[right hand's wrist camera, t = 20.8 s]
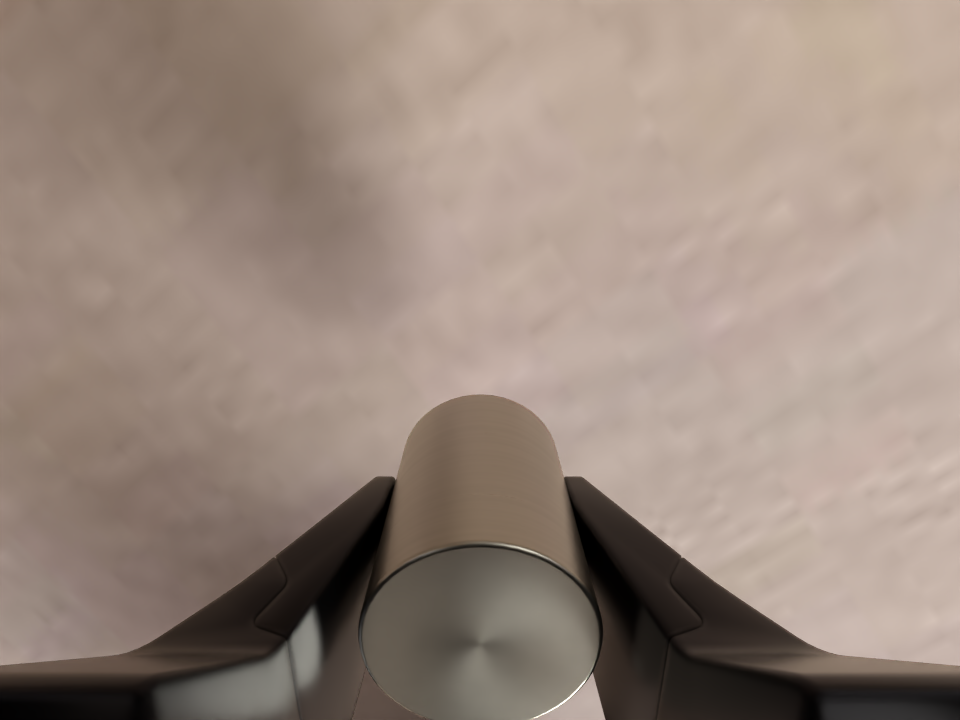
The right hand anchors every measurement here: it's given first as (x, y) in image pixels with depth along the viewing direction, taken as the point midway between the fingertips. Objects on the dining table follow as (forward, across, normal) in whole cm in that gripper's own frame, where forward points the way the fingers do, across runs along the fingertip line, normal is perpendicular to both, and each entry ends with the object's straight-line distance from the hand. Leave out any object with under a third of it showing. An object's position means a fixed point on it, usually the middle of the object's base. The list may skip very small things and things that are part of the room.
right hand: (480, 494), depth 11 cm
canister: (+1, 0, 0) cm, 1 cm away
